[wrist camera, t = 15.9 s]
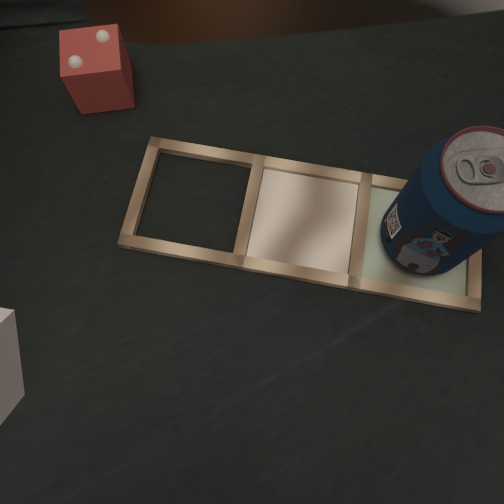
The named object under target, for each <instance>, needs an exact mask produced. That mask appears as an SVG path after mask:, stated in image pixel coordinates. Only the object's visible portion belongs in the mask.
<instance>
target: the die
mask: <svg viewBox="0 0 504 504" xmlns="http://www.w3.org/2000/svg"><path fill="white" fill-rule="evenodd" d="M59 40H60V77H61V79H62V81H63V83H64V84H65V86H66V88H67V90H68V91H69V93H70V95H71V97H72V98H73V100H74V102H75V104H76V106H77V107H78V109H79V111H80V113H81V114H82V115H83V114H91V113H98V112H106V111H114V110H122V109H130V108H135V99H134V88H133V76H132V66H131V63H130V60H129V57H128V54H127V51H126V48H125V45H124V42H123V39H122V36H121V33H120V30H119V27H118V24H112V25H103V26H95V27H86V28H78V29H69V30H60V31H59Z"/></svg>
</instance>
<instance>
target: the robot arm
mask: <svg viewBox="0 0 504 504" xmlns="http://www.w3.org/2000/svg"><path fill="white" fill-rule="evenodd" d="M24 395H25V393H24V385H23V377H22V369H21V361H20V353H19V345H18V336H17V328H16V320H15V312H14V310H11V309H5V308H0V425H1V424H2V423H3V421H4V420H5V419H6V418H7V416H8V415H9V414H10V413H11V411H12V410H13V409H14V408H15V406H16V405H17V404H18V402H19V401H20V400H21V399H22V397H23V396H24Z"/></svg>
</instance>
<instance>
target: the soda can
mask: <svg viewBox="0 0 504 504" xmlns="http://www.w3.org/2000/svg"><path fill="white" fill-rule="evenodd" d="M503 233H504V130H503V129H500V128H497V127H492V126H475V127H470V128H466V129H464V130H461V131H459V132H458V133H456V134H455V135H453V136H450V137H448V138H445V139H443V140H441V141H440V142H438V143H437V144H435V145H434V146H433V147H432V148H431V149H430V150H429V151H428V153H427V154H426V155H425V157H424V158H423V160H422V161H421V163H420V164H419V165H418V167H417V168H416V170H415V171H414V173H413V174H412V175H411V177H410V178H409V180H408V181H407V182H406V184H405V185H404V187H403V188H402V190H401V191H400V192H399V194H398V195H397V197H396V198H395V199H394V201H393V202H392V204H391V205H390V207H389V208H388V209H387V211H386V212H385V214H384V216H383V218H382V221H381V226H380V236H381V241H382V244H383V247H384V249H385V251H386V253H387V254H388V256H389V257H390V258H391V259H392V260H393V261H394V262H395V263H396V264H397V265H398V266H399V267H401V268H402V269H404V270H406V271H408V272H411V273H413V274H417V275H422V276H435V275H440V274H443V273H446V272H448V271H450V270H451V269H453V268H454V267H456V266H457V265H459V264H460V263H462V262H463V261H464V260H466V259H467V258H469V257H470V256H472V255H473V254H475V253H476V252H477V251H479V250H480V249H482V248H483V247H485V246H486V245H488V244H489V243H490V242H492V241H493V240H495V239H496V238H498V237H499V236H501V235H502V234H503Z"/></svg>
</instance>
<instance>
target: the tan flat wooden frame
mask: <svg viewBox="0 0 504 504" xmlns="http://www.w3.org/2000/svg"><path fill="white" fill-rule="evenodd" d="M160 153H166V154H172V155H177V156H183V157H189V158H195V159H201V160H206V161H212V162H218V163H224V164H230V165H235V166H241V167H247V168H252V169H251V173H250V178H249V182H248V187H247V192H246V196H245V201H244V205H243V210H242V215H241V219H240V224H239V228H238V233H237V238H236V242H235V247H234V251H233V253H228V252H223V251H217V250H212V249H206V248H201V247H195V246H190V245H184V244H179V243H173V242H168V241H162V240H157V239H152V238H146V237H141V236H135V235H136V232H137V229H138V225H139V222H140V219H141V215H142V212H143V209H144V205H145V202H146V199H147V195H148V192H149V189H150V185H151V182H152V179H153V175H154V172H155V169H156V165H157V162H158V159H159V155H160ZM263 170H264V171H263ZM262 175H263V176H262ZM261 180H262V181H261ZM407 181H408V180H404V179H398V178H392V177H386V176H381V175H375V174H369V173H363V172H357V171H351V170H345V169H339V168H334V167H328V166H322V165H316V164H310V163H304V162H298V161H292V160H287V159H281V158H275V157H269V156H263V155H257V154H251V153H245V152H240V151H234V150H228V149H222V148H216V147H210V146H204V145H198V144H193V143H187V142H181V141H175V140H169V139H163V138H157V137H150V140H149V143H148V147H147V150H146V153H145V156H144V159H143V162H142V166H141V169H140V172H139V175H138V178H137V182H136V185H135V188H134V191H133V194H132V198H131V201H130V204H129V207H128V210H127V214H126V217H125V220H124V223H123V226H122V230H121V233H120V236H119V239H118V242H117V245H118V246H119V247H121V248H126V249H132V250H137V251H142V252H148V253H153V254H159V255H164V256H170V257H175V258H180V259H186V260H191V261H197V262H202V263H207V264H213V265H218V266H224V267H229V268H234V269H240V270H245V271H251V272H256V273H261V274H267V275H272V276H278V277H283V278H288V279H294V280H299V281H305V282H310V283H315V284H321V285H326V286H332V287H337V288H342V289H348V290H353V291H359V292H364V293H369V294H375V295H380V296H386V297H391V298H396V299H402V300H407V301H413V302H418V303H423V304H429V305H434V306H440V307H445V308H450V309H456V310H461V311H467V312H472V313H477V312H480V311H481V269H482V249H480V250H479V251H477V252H476V253H475V254H473V255H472V256H470V257H469V258H467V259H466V260H464V261H463V262H462V263H460V264H459V265H457V266H456V267H454V268H453V269H451V270H450V271H448V272H446V273H443V274H440V275H435V276H422V275H417V274H413V273H411V272H408V271H406V270H404V269H402V268H401V267H399V266H398V265H397V264H396V263H395V262H394V261H393V260H392V259H391V258H390V257H389V256H388V254H387V253H386V251H385V249H384V247H383V244H382V241H381V236H380V226H381V221H382V218H383V216H384V214H385V212H386V211H387V209H388V208H389V207H390V205H391V204H392V202H393V201H394V199H395V198H396V197H397V195H398V194H399V192H400V191H401V190H402V188H403V187H404V185H405V184H406V182H407ZM260 185H261V186H260ZM259 189H260V191H259ZM258 194H259V196H258ZM257 199H258V200H257ZM256 204H257V205H256ZM255 209H256V210H255ZM254 214H255V215H254ZM253 218H254V220H253ZM252 223H253V225H252ZM251 228H252V229H251ZM250 233H251V234H250ZM249 238H250V239H249ZM248 243H249V244H248ZM247 247H248V249H247ZM246 252H247V254H246Z"/></svg>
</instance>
